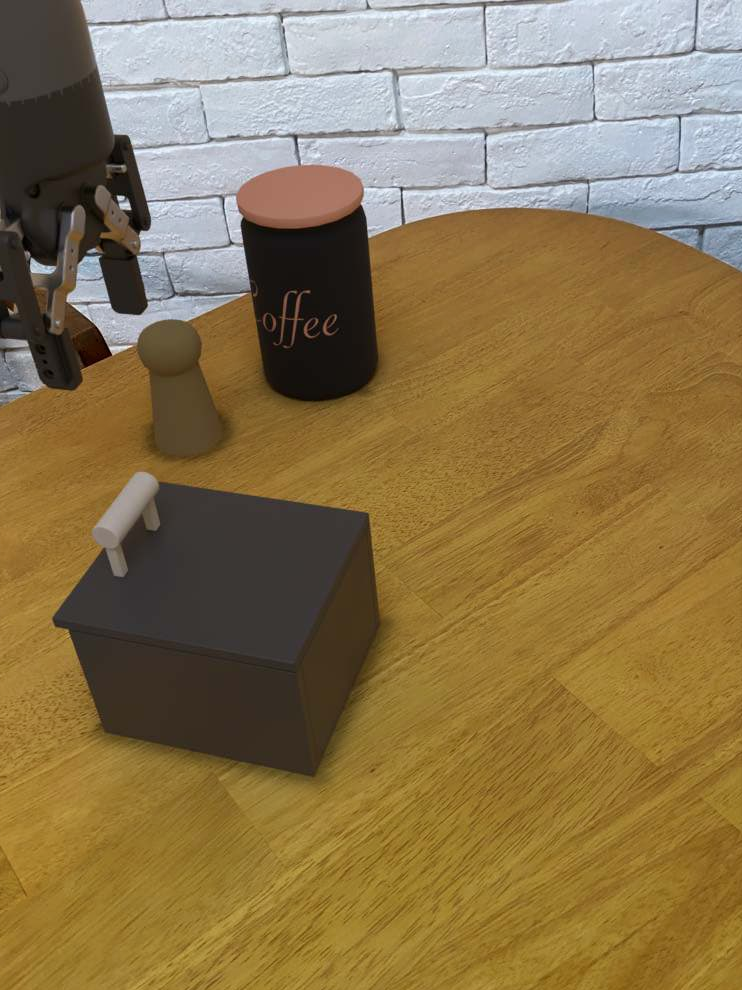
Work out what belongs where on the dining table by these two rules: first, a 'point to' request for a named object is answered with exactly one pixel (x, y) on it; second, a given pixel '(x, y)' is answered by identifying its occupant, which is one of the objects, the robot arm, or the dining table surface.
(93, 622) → the lid
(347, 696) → the dark brown wooden box
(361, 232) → the coffee jar
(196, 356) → the tan peg doll
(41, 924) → the dining table surface
